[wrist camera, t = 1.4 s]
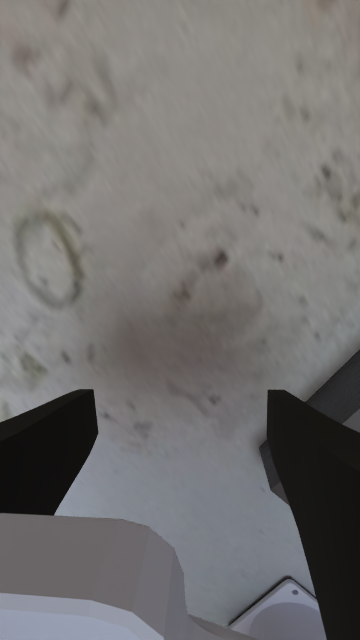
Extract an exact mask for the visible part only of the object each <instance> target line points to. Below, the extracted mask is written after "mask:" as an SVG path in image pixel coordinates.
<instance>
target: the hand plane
mask: <svg viewBox="0 0 360 640" xmlns="http://www.w3.org/2000/svg"><path fill="white" fill-rule="evenodd" d="M306 404H308V405H310V406H311V407H313V408H314V409H316V410H318V411H319V412H321V413H323V414H324V415H326V416H328V417H330V418H332V419H333V420H335V421H337V422H339V423H341V424H343V425H345V426H347V427H349V428H351V429H353V430H355V431H357V432H360V350H359V351H358V352H357V353H356V354H355V355H354V356H353V357H352V358H351V359H350V360H349V361H348V362H347V363H346V364H345V365H344V366H343V367H342V368H341V369H340V370H339V371H338V372H337V373H336V374H335V375H334V376H332V377H331V378H330V379H329V380H328V381H327V382H326V383H325V384H324V385H323V386H322V387H321V388H320V389H319V390H318V391H317V392H316V393H315V394H314V395H313V396H312V397H311V398H310V399H309V400H308V401H307V402H306ZM259 449H260V453H261V456H262V460H263V464H264V468H265V471H266V475H267V479H268V482H269V486H270V490H271V491H272V492H273V493H275V494H276V495H277V496H278V497H279V498H281V499H282V500H283V501H284V502H286V503H287V504H288V505H289V502H288V500H287V497H286V494H285V492H284V489H283V487H282V484H281V481H280V479H279V476H278V473H277V471H276V468H275V465H274V463H273V460H272V456H271V452H270V448H269V444H268V440H267V441H266V442H265V443H264V444H262V445H261V446H260V447H259ZM289 506H290V505H289Z"/></svg>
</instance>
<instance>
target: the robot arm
mask: <svg viewBox="0 0 360 640" xmlns="http://www.w3.org/2000/svg"><path fill="white" fill-rule="evenodd" d="M97 435H98V425H97V416H96V408H95V399H94V390H93V389H79V390H76V391H73V392H70V393H68V394H65V395H63V396H61V397H58V398H56V399H54V400H52V401H50V402H47V403H45V404H43V405H41V406H39V407H37V408H34V409H32V410H29V411H27V412H25V413H22V414H20V415H18V416H15V417H13V418H10V419H8V420H5V421H3V422H0V640H360V432H357V431H355V430H353V429H351V428H349V427H347V426H345V425H343V424H341V423H339V422H337V421H335V420H333V419H332V418H330V417H328V416H326V415H324V414H323V413H321V412H319V411H318V410H316V409H314V408H313V407H311V406H310V405H308V404H306V403H305V402H303V401H302V400H300V399H299V398H297V397H295V396H294V395H292V394H291V393H289V392H287V391H285V390H268V399H267V439H268V444H269V448H270V452H271V456H272V460H273V463H274V465H275V468H276V471H277V473H278V476H279V479H280V481H281V484H282V487H283V489H284V492H285V494H286V497H287V500H288V502H289V505H290V508H291V510H292V513H293V516H294V519H295V521H296V524H297V527H298V531H299V534H300V538H301V542H302V545H303V549H304V553H305V556H306V560H307V564H308V567H309V571H310V575H311V579H312V583H313V587H314V590H315V594H316V598H317V600H316V599H315V598H314V597H313V596H312V595H310V594H309V593H308V592H307V591H305V590H304V589H303V588H302V587H301V586H299V585H298V584H297V583H296V582H295V581H293V580H291V579H286V580H285V581H283V582H282V583H281V584H280V585H279V586H277V587H276V588H275V589H274V590H272V591H271V592H270V593H269V594H268V595H266V596H265V597H264V598H263V599H261V600H260V601H259V602H258V603H257V604H255V605H254V606H253V607H252V608H250V609H249V610H248V611H247V612H246V613H244V614H243V615H242V616H241V617H239V618H238V619H237V620H236V621H235V622H233V623H232V624H231V625H230V626H229V627H228V628H226V627H223V626H220V625H218V624H215V623H212V622H209V621H206V620H204V619H201V618H198V617H195V616H193V615H190V614H188V612H187V608H186V603H185V591H184V573H183V571H182V568H181V565H180V563H179V560H178V557H177V555H176V552H175V549H174V548H173V547H172V546H171V545H170V544H169V543H168V542H166V541H165V540H164V539H163V538H162V537H160V536H159V535H158V534H157V533H156V532H154V531H153V530H152V529H151V528H150V527H148V526H145V525H141V524H137V523H134V522H130V521H126V520H123V519H111V518H90V517H70V516H54V514H55V512H56V510H57V508H58V507H59V505H60V503H61V501H62V500H63V498H64V496H65V495H66V493H67V491H68V490H69V488H70V486H71V485H72V483H73V481H74V480H75V478H76V476H77V475H78V473H79V472H80V470H81V468H82V466H83V465H84V463H85V461H86V460H87V458H88V456H89V454H90V452H91V450H92V447H93V445H94V443H95V440H96V438H97Z"/></svg>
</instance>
